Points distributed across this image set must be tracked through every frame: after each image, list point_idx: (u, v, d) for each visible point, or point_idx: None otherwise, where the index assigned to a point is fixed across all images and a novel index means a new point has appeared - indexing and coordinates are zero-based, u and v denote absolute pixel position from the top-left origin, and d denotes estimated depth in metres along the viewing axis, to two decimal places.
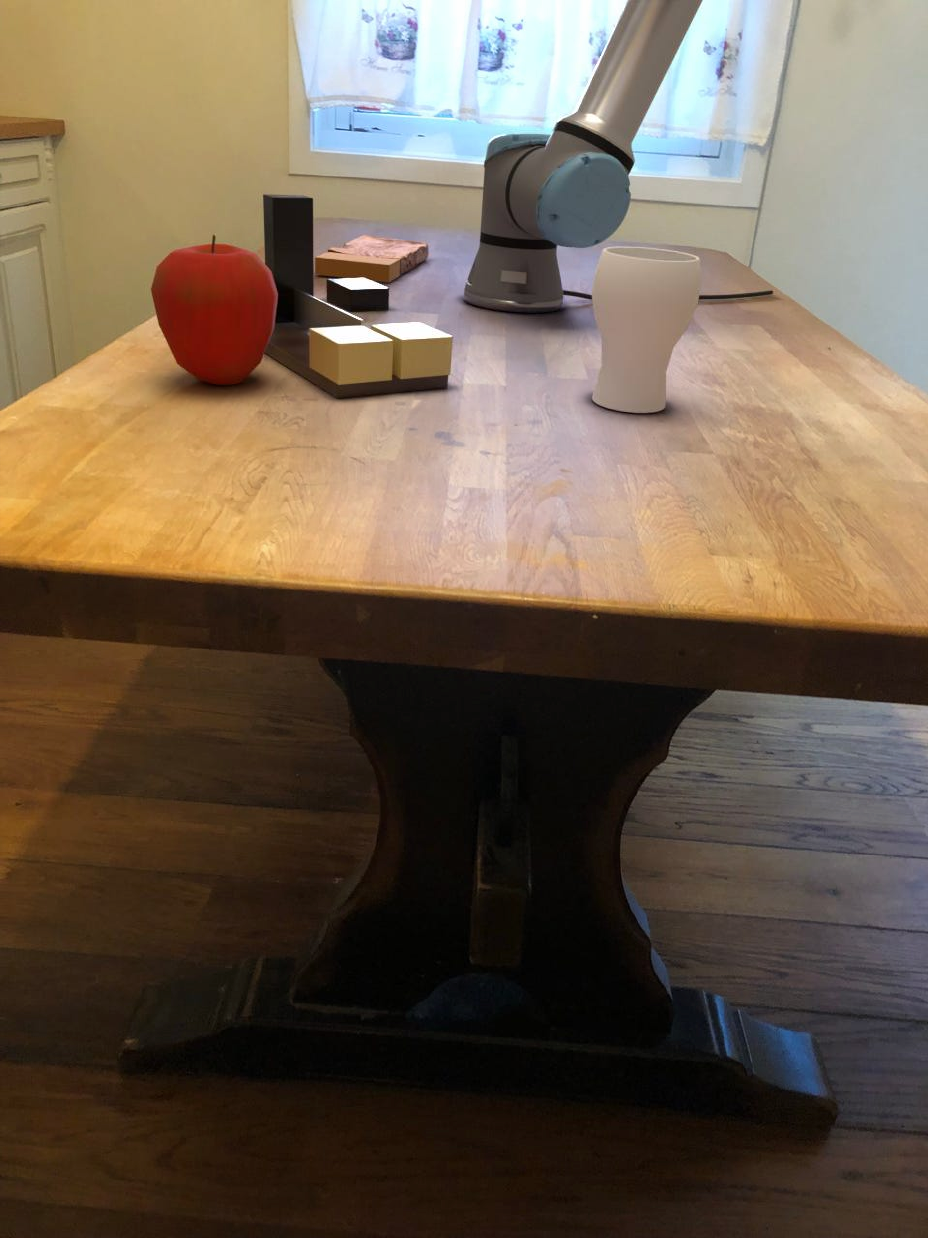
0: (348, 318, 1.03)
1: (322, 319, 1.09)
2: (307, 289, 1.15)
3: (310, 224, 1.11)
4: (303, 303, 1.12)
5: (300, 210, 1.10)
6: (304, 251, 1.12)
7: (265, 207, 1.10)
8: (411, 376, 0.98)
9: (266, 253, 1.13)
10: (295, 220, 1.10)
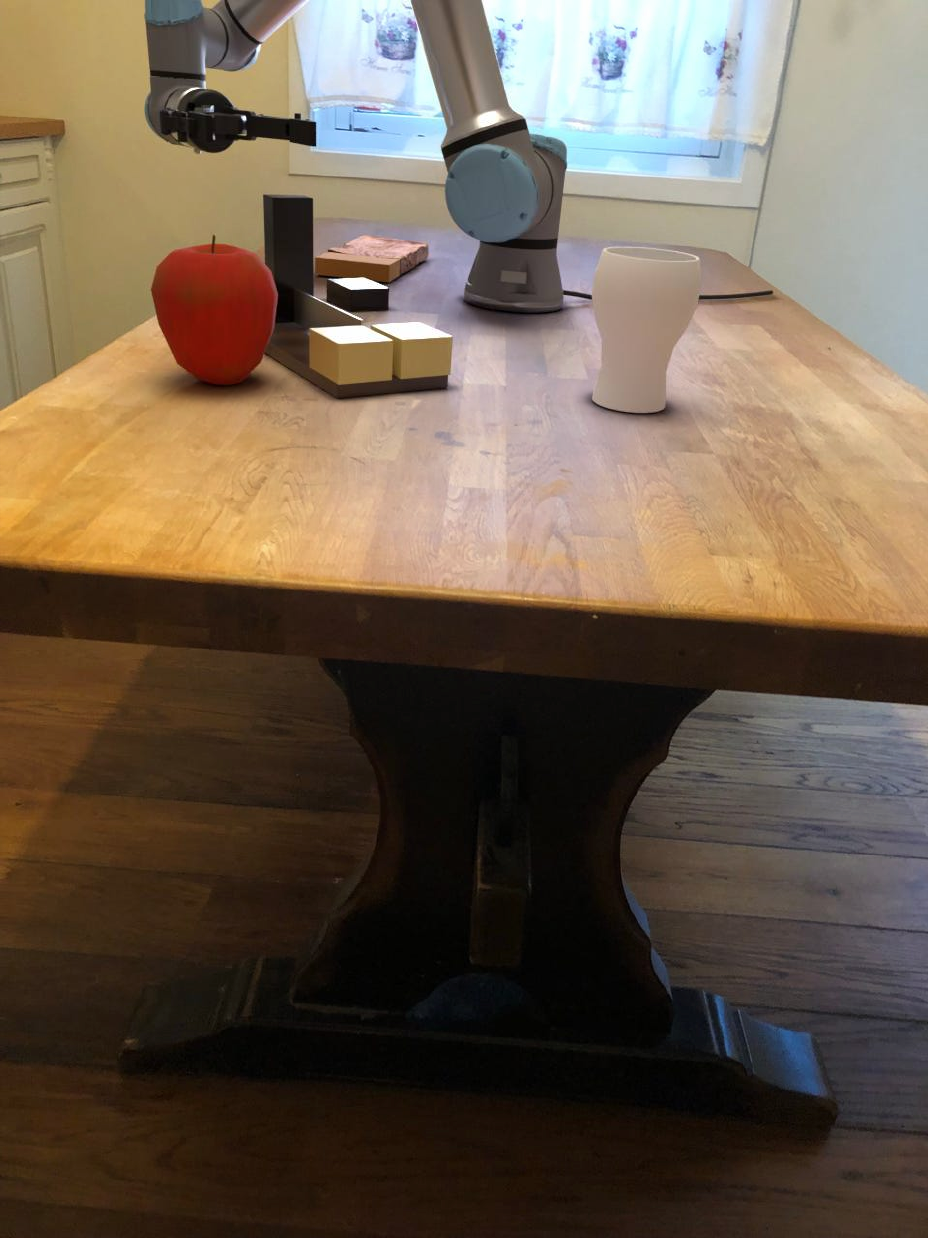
0: (348, 318, 1.03)
1: (322, 319, 1.09)
2: (307, 289, 1.15)
3: (310, 224, 1.11)
4: (303, 303, 1.12)
5: (300, 210, 1.10)
6: (304, 251, 1.12)
7: (265, 207, 1.10)
8: (411, 376, 0.98)
9: (266, 253, 1.13)
10: (295, 220, 1.10)
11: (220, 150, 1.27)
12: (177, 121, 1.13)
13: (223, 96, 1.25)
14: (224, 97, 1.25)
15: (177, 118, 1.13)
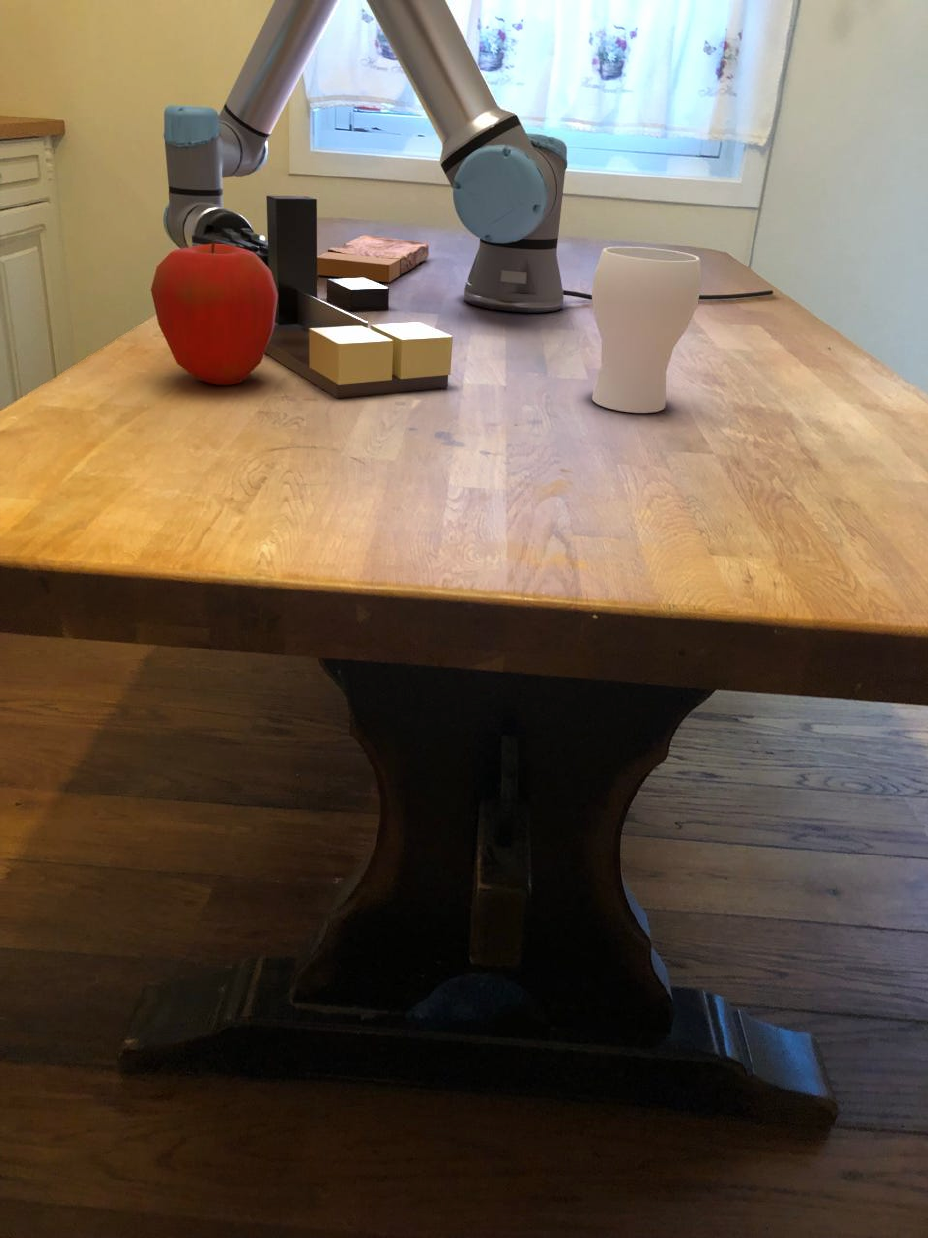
0: (352, 320, 1.02)
1: (326, 321, 1.08)
2: (311, 291, 1.14)
3: (314, 225, 1.11)
4: (306, 305, 1.11)
5: (304, 211, 1.09)
6: (308, 252, 1.12)
7: (268, 208, 1.09)
8: (411, 376, 0.98)
9: (269, 254, 1.12)
10: (298, 221, 1.10)
11: None
12: None
13: (240, 217, 1.28)
14: (241, 218, 1.28)
15: None
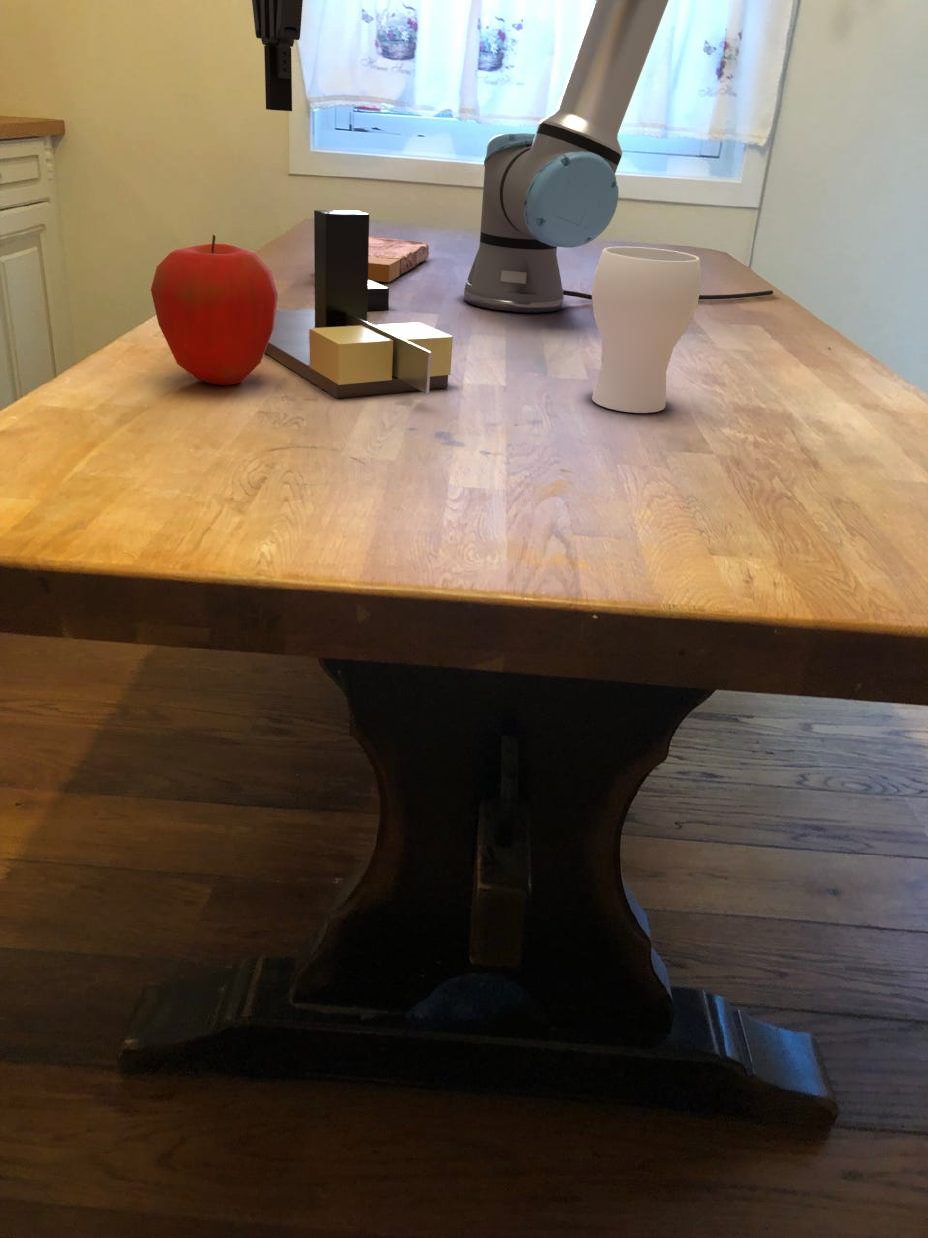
0: (413, 349, 0.93)
1: None
2: (360, 314, 1.04)
3: (366, 242, 1.01)
4: None
5: (355, 227, 1.00)
6: (358, 272, 1.02)
7: (316, 224, 1.00)
8: None
9: (316, 274, 1.02)
10: (349, 239, 1.00)
11: None
12: (286, 47, 1.08)
13: None
14: None
15: (288, 46, 1.08)
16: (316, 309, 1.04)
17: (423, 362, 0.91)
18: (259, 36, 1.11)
